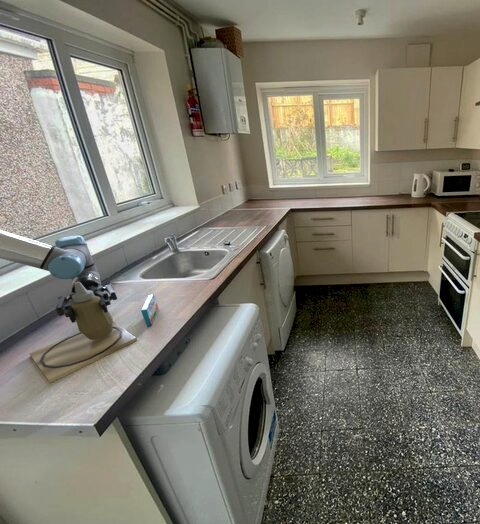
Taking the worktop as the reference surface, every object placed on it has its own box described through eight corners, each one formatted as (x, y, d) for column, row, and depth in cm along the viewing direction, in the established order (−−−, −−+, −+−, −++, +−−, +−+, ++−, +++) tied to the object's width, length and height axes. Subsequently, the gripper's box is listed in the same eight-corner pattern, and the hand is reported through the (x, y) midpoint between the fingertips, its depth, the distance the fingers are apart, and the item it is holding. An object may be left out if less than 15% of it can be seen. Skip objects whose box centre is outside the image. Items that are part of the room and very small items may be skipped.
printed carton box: (154, 309, 105) (148, 294, 103) (158, 308, 106) (153, 293, 104) (146, 326, 95) (140, 310, 93) (152, 325, 96) (146, 309, 93)
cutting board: (30, 355, 84) (28, 352, 83) (111, 321, 99) (110, 318, 98) (50, 383, 73) (48, 379, 73) (137, 340, 88) (136, 337, 88)
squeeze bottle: (103, 342, 85) (78, 288, 78) (76, 343, 85) (49, 289, 78) (123, 326, 92) (102, 276, 85) (98, 327, 93) (76, 276, 86)
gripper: (125, 287, 105) (134, 311, 89) (52, 307, 93) (47, 339, 77) (118, 268, 102) (125, 289, 86) (42, 286, 90) (34, 315, 74)
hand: (88, 313), depth 81 cm, fingers closed on squeeze bottle, 6 cm apart
